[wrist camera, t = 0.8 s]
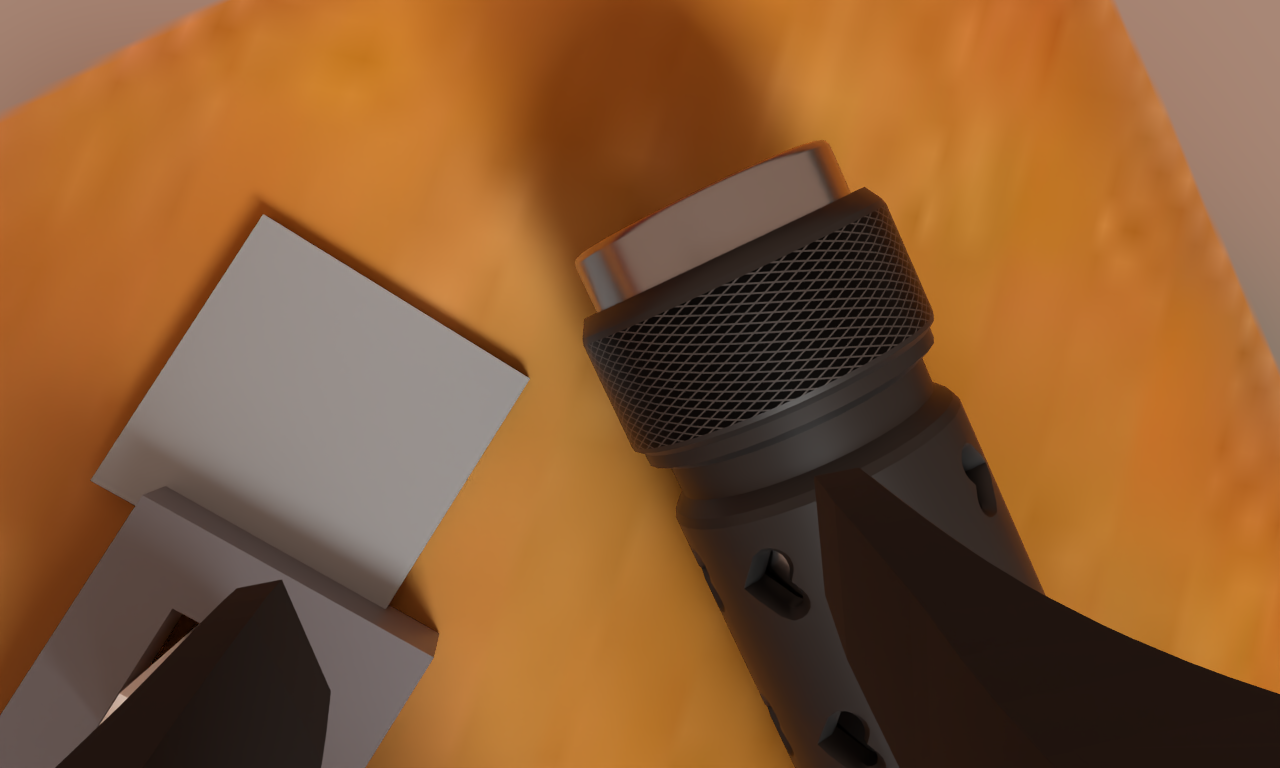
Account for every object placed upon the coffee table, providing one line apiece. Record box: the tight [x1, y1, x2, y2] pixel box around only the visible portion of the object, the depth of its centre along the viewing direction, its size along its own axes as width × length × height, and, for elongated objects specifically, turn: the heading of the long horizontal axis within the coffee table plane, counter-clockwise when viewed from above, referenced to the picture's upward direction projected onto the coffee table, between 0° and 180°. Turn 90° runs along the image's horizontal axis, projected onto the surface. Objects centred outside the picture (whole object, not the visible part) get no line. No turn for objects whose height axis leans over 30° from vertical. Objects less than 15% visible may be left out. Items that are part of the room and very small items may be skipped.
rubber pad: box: [90, 214, 530, 609], centre depth 30 cm, size 10×10×1 cm
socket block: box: [0, 486, 439, 768], centre depth 29 cm, size 10×10×2 cm
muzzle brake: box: [575, 140, 1045, 768], centre depth 28 cm, size 10×28×10 cm, turn 25°
